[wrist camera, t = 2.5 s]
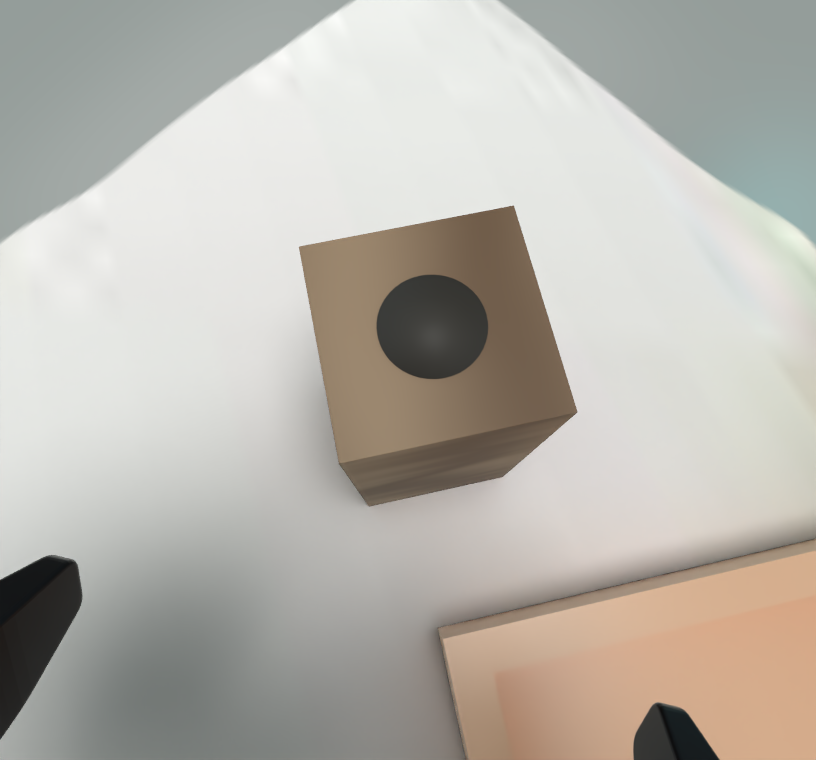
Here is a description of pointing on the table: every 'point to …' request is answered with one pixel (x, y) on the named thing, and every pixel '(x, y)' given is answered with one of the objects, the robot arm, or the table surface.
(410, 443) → the walnut block
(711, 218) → the table surface
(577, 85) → the table surface
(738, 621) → the tray
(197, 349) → the table surface
